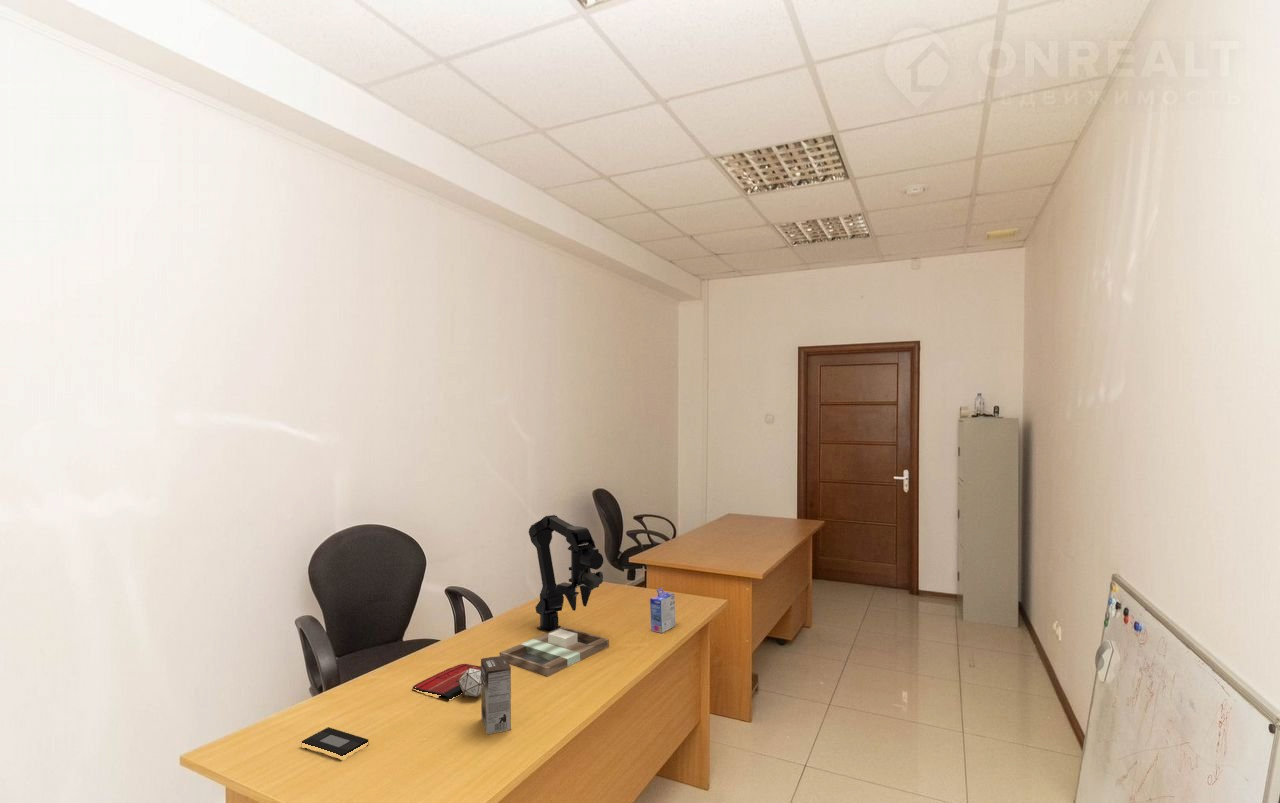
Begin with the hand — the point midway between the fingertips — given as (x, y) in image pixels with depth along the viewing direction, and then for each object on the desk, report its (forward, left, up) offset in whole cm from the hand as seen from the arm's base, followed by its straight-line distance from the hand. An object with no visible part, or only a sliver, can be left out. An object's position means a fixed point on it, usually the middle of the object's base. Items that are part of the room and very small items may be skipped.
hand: (579, 608), depth 221 cm
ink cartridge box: (+16, +29, -12) cm, 35 cm away
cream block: (0, -9, -10) cm, 13 cm away
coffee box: (+21, -56, -12) cm, 61 cm away
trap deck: (0, -12, -12) cm, 17 cm away
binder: (-9, -46, -13) cm, 49 cm away
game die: (+3, -49, -12) cm, 51 cm away
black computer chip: (-3, -86, -13) cm, 87 cm away
